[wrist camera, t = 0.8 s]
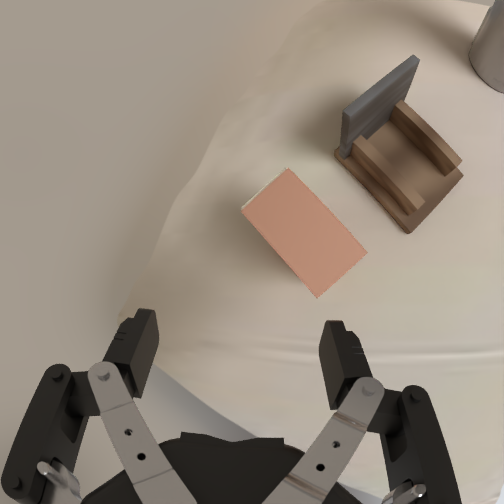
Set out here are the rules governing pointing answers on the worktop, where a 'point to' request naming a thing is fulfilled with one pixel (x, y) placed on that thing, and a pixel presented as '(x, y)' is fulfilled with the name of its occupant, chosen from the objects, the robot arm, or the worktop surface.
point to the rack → (397, 150)
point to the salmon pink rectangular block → (303, 231)
